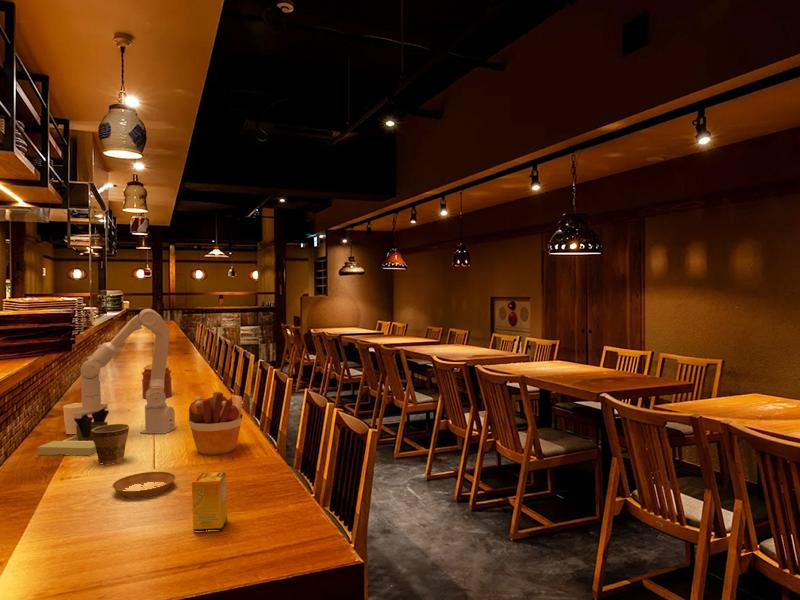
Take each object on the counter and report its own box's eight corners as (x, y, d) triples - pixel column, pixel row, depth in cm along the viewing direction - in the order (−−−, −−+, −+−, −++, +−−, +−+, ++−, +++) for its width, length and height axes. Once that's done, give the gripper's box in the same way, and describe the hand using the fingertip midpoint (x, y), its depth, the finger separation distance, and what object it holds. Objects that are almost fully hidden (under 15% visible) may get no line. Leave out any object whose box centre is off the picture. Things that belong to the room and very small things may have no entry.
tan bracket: (117, 444, 187) (117, 436, 187) (91, 456, 174) (91, 447, 174) (67, 443, 189) (66, 435, 189) (37, 454, 176) (37, 446, 176)
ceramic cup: (137, 457, 172) (136, 425, 172) (110, 468, 162) (109, 433, 162) (104, 454, 176) (103, 422, 176) (76, 463, 167) (75, 430, 166)
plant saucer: (131, 480, 152) (130, 471, 152) (185, 480, 152) (184, 470, 152) (100, 501, 138) (100, 491, 137) (160, 501, 137) (159, 491, 137)
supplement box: (200, 521, 124) (198, 472, 124) (227, 520, 125) (226, 471, 125) (192, 533, 118) (191, 481, 118) (221, 532, 119) (220, 480, 119)
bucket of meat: (188, 445, 184) (186, 385, 183) (240, 439, 190) (239, 380, 190) (191, 463, 166) (189, 395, 165) (248, 456, 172) (247, 391, 171)
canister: (165, 399, 260) (164, 361, 260) (137, 400, 261) (136, 361, 260) (176, 394, 273) (175, 357, 273) (150, 394, 274) (149, 358, 273)
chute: (108, 437, 197) (107, 422, 196) (98, 441, 192) (98, 425, 191) (86, 437, 198) (86, 421, 197) (76, 441, 193) (76, 425, 192)
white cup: (78, 436, 198) (77, 407, 198) (58, 435, 200) (57, 407, 199) (94, 430, 206) (93, 403, 206) (75, 429, 207) (74, 402, 207)
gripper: (94, 391, 202) (95, 428, 202) (65, 399, 187) (67, 440, 188) (112, 391, 201) (113, 429, 201) (85, 399, 187) (86, 440, 187)
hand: (92, 434), depth 195 cm, fingers open, 6 cm apart
